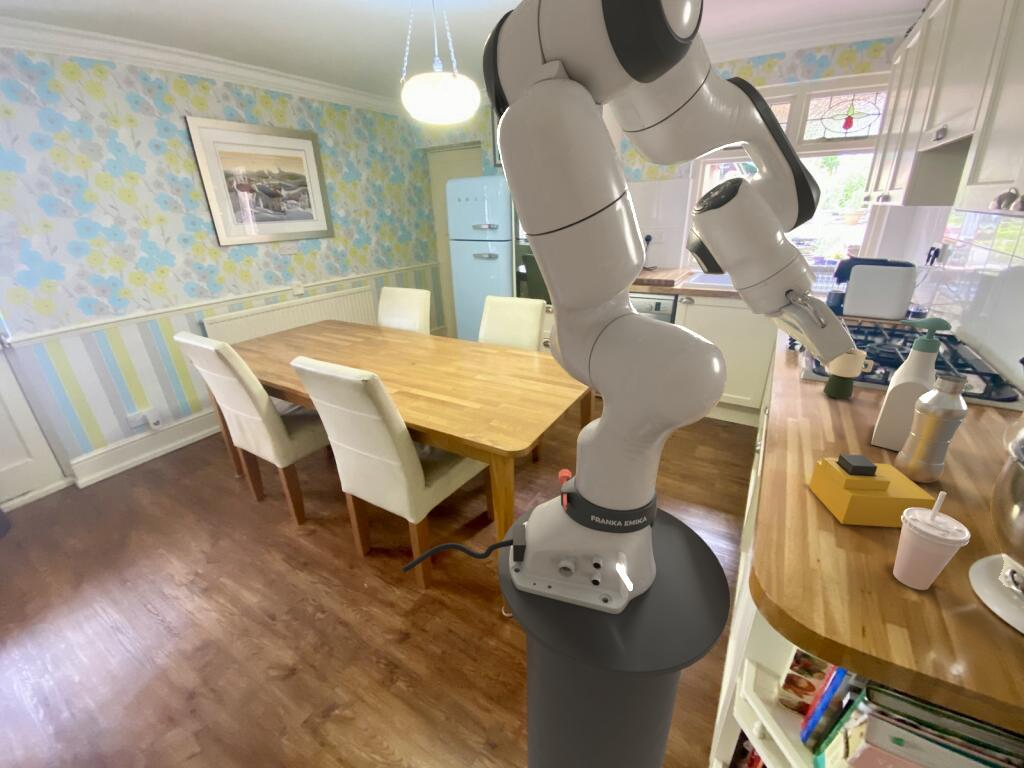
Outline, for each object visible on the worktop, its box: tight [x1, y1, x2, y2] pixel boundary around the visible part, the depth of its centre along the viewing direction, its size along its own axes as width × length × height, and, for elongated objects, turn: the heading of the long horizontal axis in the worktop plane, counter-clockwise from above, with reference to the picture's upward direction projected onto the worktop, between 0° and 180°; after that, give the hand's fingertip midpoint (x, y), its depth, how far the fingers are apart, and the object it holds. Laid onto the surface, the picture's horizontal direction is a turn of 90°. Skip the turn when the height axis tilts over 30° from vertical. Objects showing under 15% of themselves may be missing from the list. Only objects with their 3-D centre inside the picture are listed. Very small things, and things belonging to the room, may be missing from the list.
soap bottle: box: [870, 316, 953, 453], centre depth 87 cm, size 11×8×27 cm
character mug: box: [819, 347, 875, 399], centre depth 111 cm, size 11×7×13 cm, turn 57°
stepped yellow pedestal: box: [808, 457, 937, 529], centre depth 70 cm, size 12×10×8 cm
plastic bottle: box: [893, 375, 969, 484], centre depth 75 cm, size 6×7×20 cm
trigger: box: [837, 453, 877, 476], centre depth 69 cm, size 4×4×2 cm
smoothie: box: [892, 490, 971, 591], centre depth 55 cm, size 6×6×14 cm
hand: (825, 358), depth 62 cm, fingers closed
